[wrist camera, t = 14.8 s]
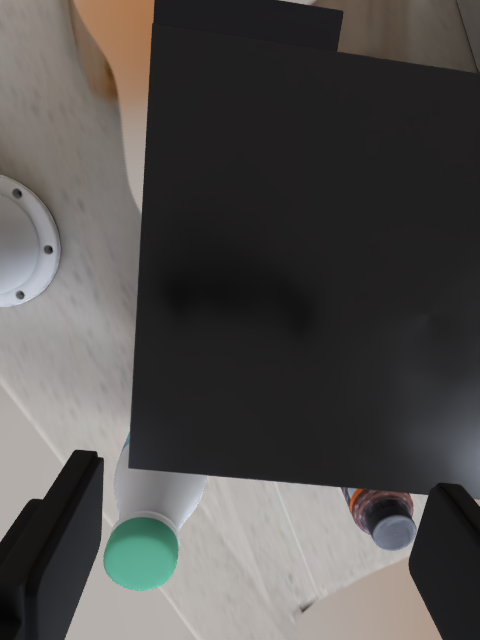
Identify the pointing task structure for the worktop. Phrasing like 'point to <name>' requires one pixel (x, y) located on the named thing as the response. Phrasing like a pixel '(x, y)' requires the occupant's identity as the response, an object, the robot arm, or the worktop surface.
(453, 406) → the microwave
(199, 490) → the milk bottle
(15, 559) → the robot arm
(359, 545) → the worktop surface
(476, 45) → the microwave door
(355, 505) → the supplement bottle
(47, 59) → the worktop surface
